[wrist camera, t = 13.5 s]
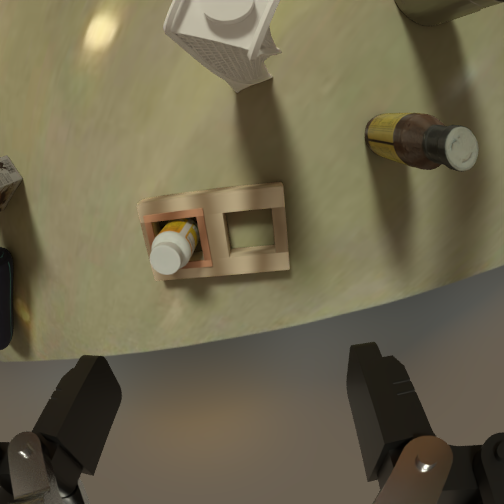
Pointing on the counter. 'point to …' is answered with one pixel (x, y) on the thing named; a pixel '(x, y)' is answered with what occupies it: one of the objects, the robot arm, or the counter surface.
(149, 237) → the cup caddy
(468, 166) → the sauce bottle
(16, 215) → the counter surface
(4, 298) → the portable speaker
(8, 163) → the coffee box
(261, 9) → the skyscraper
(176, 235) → the supplement bottle
